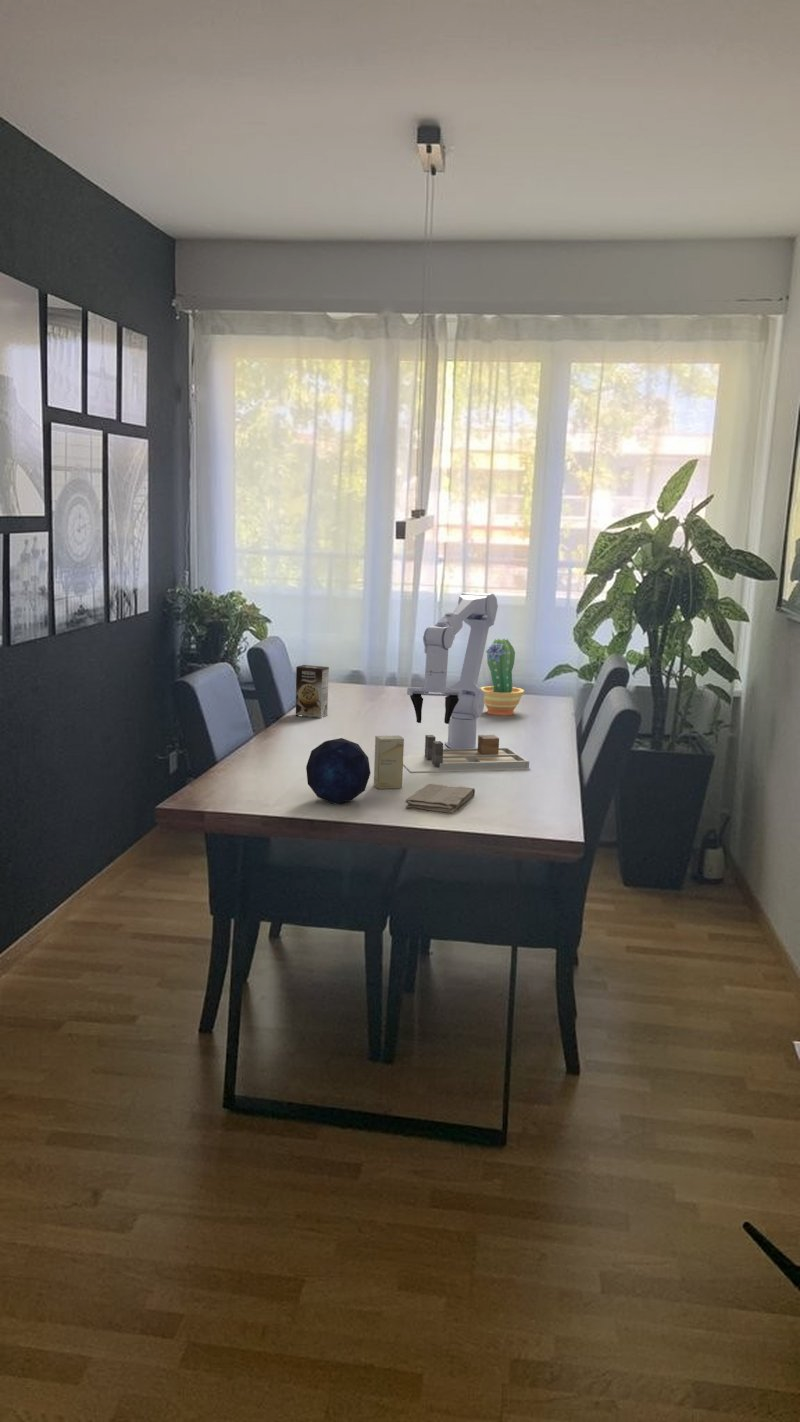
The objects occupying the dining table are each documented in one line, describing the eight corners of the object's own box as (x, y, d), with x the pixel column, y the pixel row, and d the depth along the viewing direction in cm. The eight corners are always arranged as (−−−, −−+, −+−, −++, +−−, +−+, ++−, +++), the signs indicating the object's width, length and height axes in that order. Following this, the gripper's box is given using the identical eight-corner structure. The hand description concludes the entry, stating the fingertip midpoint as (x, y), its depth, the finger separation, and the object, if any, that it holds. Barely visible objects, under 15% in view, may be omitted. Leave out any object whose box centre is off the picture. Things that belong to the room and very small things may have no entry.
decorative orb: (393, 780, 233) (365, 722, 237) (346, 792, 222) (318, 731, 226) (356, 807, 242) (330, 751, 246) (309, 820, 231) (282, 760, 234)
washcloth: (403, 811, 230) (403, 797, 229) (427, 792, 246) (427, 779, 246) (455, 817, 226) (455, 803, 225) (475, 797, 243) (476, 784, 242)
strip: (423, 755, 280) (424, 733, 279) (501, 753, 284) (502, 732, 283) (428, 760, 274) (429, 738, 273) (508, 758, 279) (509, 736, 278)
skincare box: (377, 789, 246) (378, 739, 243) (373, 784, 250) (374, 735, 248) (403, 788, 247) (404, 738, 245) (398, 783, 251) (399, 734, 249)
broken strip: (430, 762, 272) (431, 740, 271) (511, 760, 277) (512, 738, 276) (436, 767, 266) (437, 744, 265) (518, 765, 271) (519, 743, 270)
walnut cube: (477, 751, 282) (478, 735, 281) (493, 751, 283) (494, 734, 282) (482, 755, 278) (483, 738, 277) (498, 754, 279) (499, 738, 278)
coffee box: (294, 716, 334) (295, 666, 331) (302, 713, 340) (302, 664, 337) (321, 718, 331) (321, 668, 328) (328, 715, 337) (329, 666, 334)
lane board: (395, 756, 280) (395, 749, 280) (508, 754, 287) (508, 746, 287) (410, 772, 263) (410, 765, 262) (530, 769, 270) (530, 761, 269)
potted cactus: (469, 710, 353) (472, 637, 348) (508, 707, 359) (511, 636, 355) (492, 718, 339) (495, 642, 335) (532, 715, 346) (536, 641, 341)
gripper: (412, 672, 268) (409, 724, 269) (466, 674, 271) (463, 725, 273) (406, 669, 274) (403, 720, 276) (459, 671, 278) (455, 722, 279)
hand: (432, 722), depth 275 cm, fingers open, 7 cm apart
